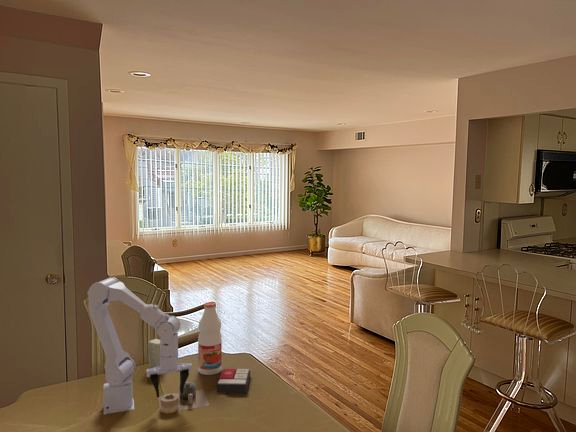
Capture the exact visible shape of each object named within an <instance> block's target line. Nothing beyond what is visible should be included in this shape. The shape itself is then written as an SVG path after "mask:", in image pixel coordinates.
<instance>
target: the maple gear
mask: <svg viewBox="0 0 576 432" xmlns="http://www.w3.org/2000/svg"><path fill="white" fill-rule="evenodd" d="M161 396H162V397H161V412H163V413H166V414H172V413H175V411H176V410H178V395H177V394H175V393H173V392H172V393H171V392H169V393H164V394H163V395H161ZM161 412H160V413H161Z"/></svg>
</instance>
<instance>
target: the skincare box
mask: <svg viewBox="0 0 576 432" xmlns="http://www.w3.org/2000/svg"><path fill="white" fill-rule="evenodd" d="M147 344H148V346H147V347H148V349H147V350H148V351H147V352H148V369H151V368H155V367H158V366H160V338H159V339H158V338H154V339H151V340H148V342H147Z"/></svg>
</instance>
